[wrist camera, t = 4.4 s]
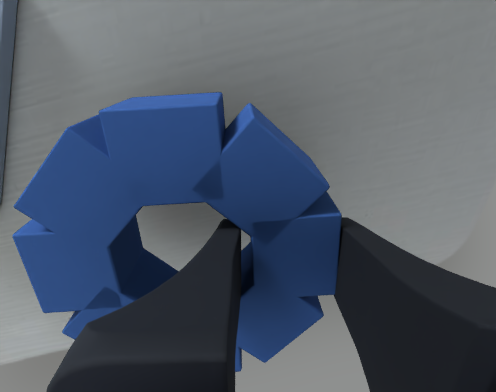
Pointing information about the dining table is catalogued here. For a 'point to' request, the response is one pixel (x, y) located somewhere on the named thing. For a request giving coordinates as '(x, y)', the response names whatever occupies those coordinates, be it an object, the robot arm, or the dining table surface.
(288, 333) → the ring
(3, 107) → the shower valve
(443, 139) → the dining table surface
